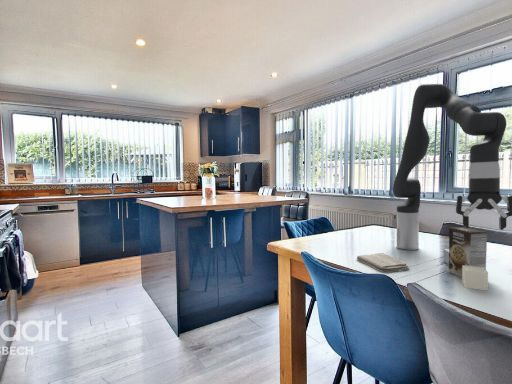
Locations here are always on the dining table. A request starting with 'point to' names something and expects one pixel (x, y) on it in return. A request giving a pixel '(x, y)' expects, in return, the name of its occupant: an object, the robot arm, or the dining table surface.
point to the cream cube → (475, 277)
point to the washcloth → (383, 262)
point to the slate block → (446, 256)
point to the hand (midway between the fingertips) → (483, 228)
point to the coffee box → (466, 248)
